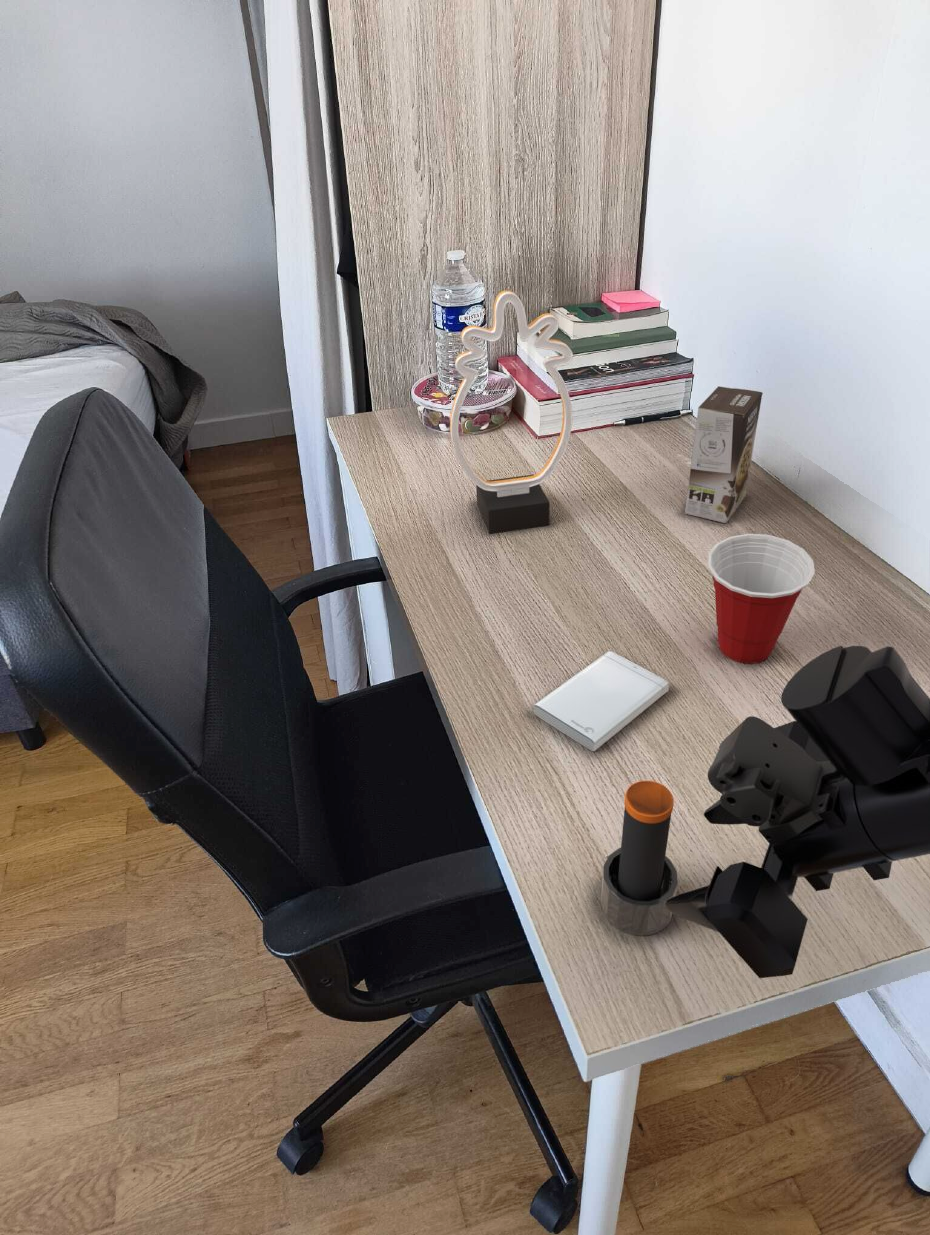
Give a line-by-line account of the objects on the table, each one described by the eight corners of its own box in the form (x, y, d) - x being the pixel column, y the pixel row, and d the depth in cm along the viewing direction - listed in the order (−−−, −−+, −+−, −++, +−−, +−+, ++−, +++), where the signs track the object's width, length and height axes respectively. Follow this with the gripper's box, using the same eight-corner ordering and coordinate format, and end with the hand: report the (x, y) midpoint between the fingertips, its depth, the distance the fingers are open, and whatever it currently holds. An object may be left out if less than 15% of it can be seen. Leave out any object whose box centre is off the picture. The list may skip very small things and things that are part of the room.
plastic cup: (685, 667, 93) (698, 576, 86) (705, 613, 101) (718, 526, 94) (788, 690, 89) (809, 597, 82) (800, 632, 97) (821, 543, 90)
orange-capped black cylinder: (638, 876, 71) (650, 773, 64) (668, 905, 68) (684, 802, 61) (606, 896, 69) (615, 793, 62) (635, 927, 67) (647, 824, 60)
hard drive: (594, 741, 82) (669, 680, 89) (533, 703, 87) (608, 648, 94) (594, 753, 83) (668, 692, 90) (533, 714, 88) (607, 659, 95)
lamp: (559, 493, 127) (563, 274, 109) (576, 521, 120) (583, 293, 101) (450, 508, 125) (435, 288, 107) (461, 537, 118) (447, 307, 99)
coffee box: (727, 524, 117) (744, 415, 108) (683, 514, 120) (696, 407, 111) (747, 496, 124) (764, 390, 114) (704, 487, 126) (718, 383, 117)
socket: (685, 924, 68) (690, 894, 65) (618, 944, 66) (621, 914, 64) (653, 867, 72) (657, 837, 70) (590, 885, 71) (592, 854, 69)
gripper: (832, 633, 57) (662, 706, 69) (765, 825, 45) (570, 876, 56) (928, 752, 59) (746, 804, 70) (890, 972, 46) (675, 993, 57)
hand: (689, 860), depth 63 cm, fingers open, 9 cm apart
